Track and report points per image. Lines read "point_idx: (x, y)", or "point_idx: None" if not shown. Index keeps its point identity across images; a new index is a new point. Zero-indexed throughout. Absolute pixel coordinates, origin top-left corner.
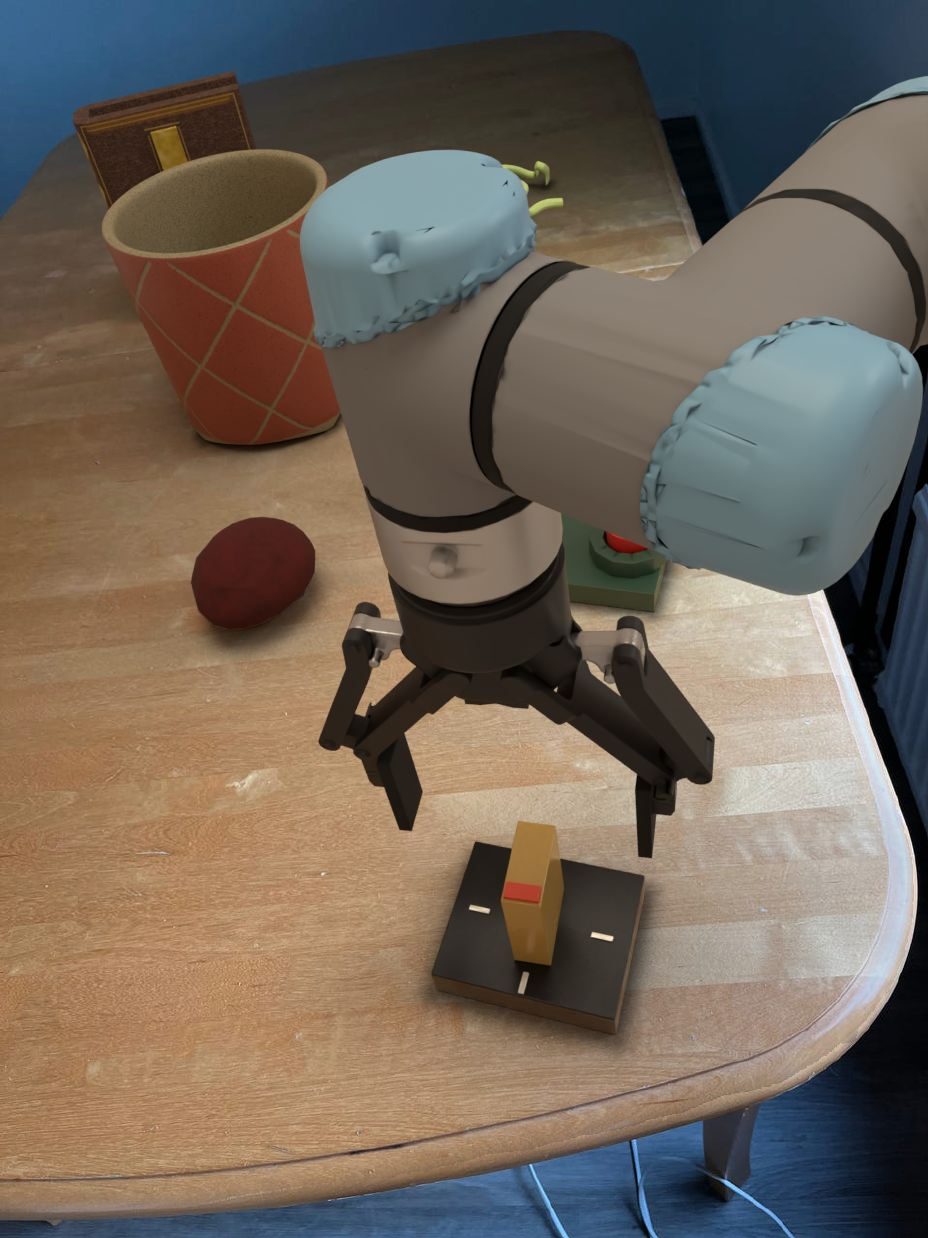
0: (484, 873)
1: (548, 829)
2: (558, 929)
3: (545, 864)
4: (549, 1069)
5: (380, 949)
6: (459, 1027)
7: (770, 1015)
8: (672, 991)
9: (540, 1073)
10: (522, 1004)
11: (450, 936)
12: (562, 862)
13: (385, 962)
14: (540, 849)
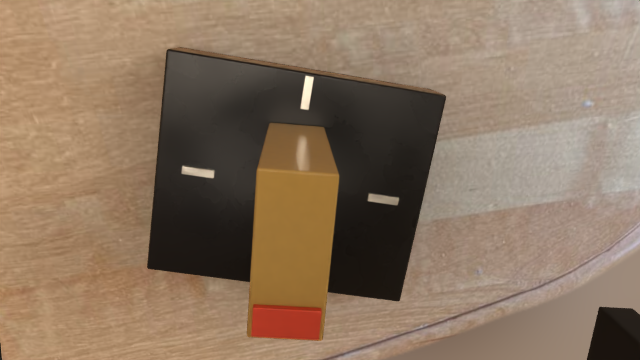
0: (194, 109)
1: (325, 186)
2: None
3: (324, 260)
4: None
5: (65, 200)
6: (199, 287)
7: (571, 238)
8: (459, 221)
9: None
10: None
11: (162, 214)
12: (318, 80)
13: (79, 217)
14: (312, 230)
